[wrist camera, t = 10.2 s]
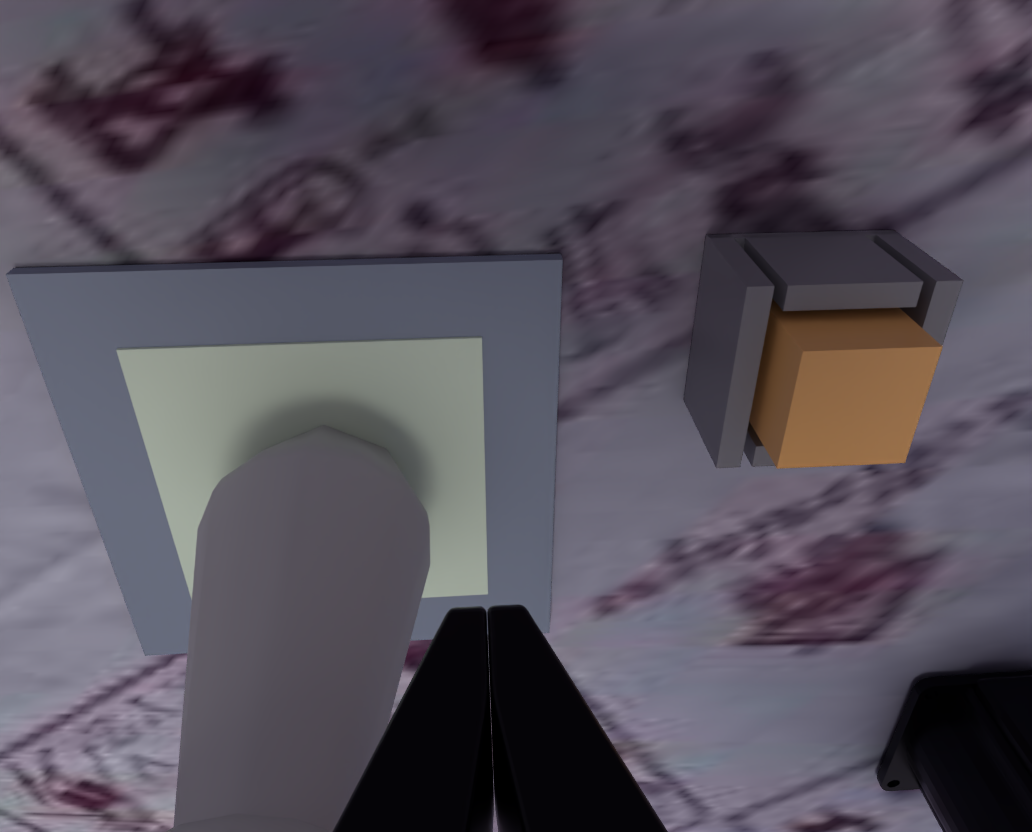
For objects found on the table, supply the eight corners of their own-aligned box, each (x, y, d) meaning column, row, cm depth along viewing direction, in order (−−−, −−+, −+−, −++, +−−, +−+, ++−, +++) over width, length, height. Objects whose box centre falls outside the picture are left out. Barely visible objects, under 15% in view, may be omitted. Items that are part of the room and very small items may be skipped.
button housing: (850, 393, 23) (905, 459, 20) (683, 399, 22) (716, 468, 20) (893, 229, 20) (963, 280, 17) (706, 234, 20) (747, 286, 17)
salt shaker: (322, 592, 25) (226, 1143, 14) (175, 476, 22) (-91, 1049, 11) (473, 497, 23) (501, 1034, 12) (336, 359, 20) (212, 892, 9)
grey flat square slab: (548, 623, 27) (549, 635, 26) (149, 645, 26) (143, 658, 26) (560, 253, 20) (563, 261, 19) (13, 267, 19) (4, 276, 18)
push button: (854, 401, 21) (904, 463, 18) (740, 405, 20) (777, 468, 18) (883, 293, 19) (943, 346, 17) (759, 297, 19) (802, 351, 17)
